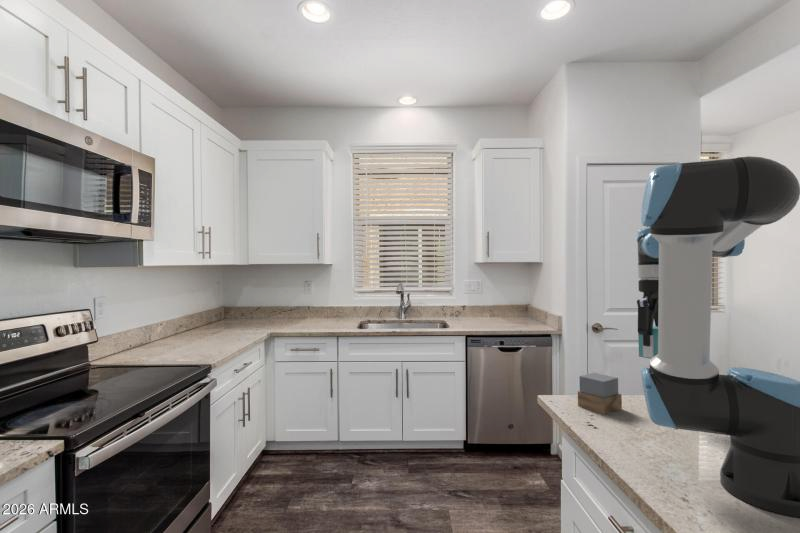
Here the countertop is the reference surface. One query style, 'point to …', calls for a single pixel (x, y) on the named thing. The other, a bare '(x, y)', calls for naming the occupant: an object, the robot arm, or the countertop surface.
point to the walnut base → (600, 403)
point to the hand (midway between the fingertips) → (654, 355)
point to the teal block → (655, 334)
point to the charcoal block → (599, 385)
